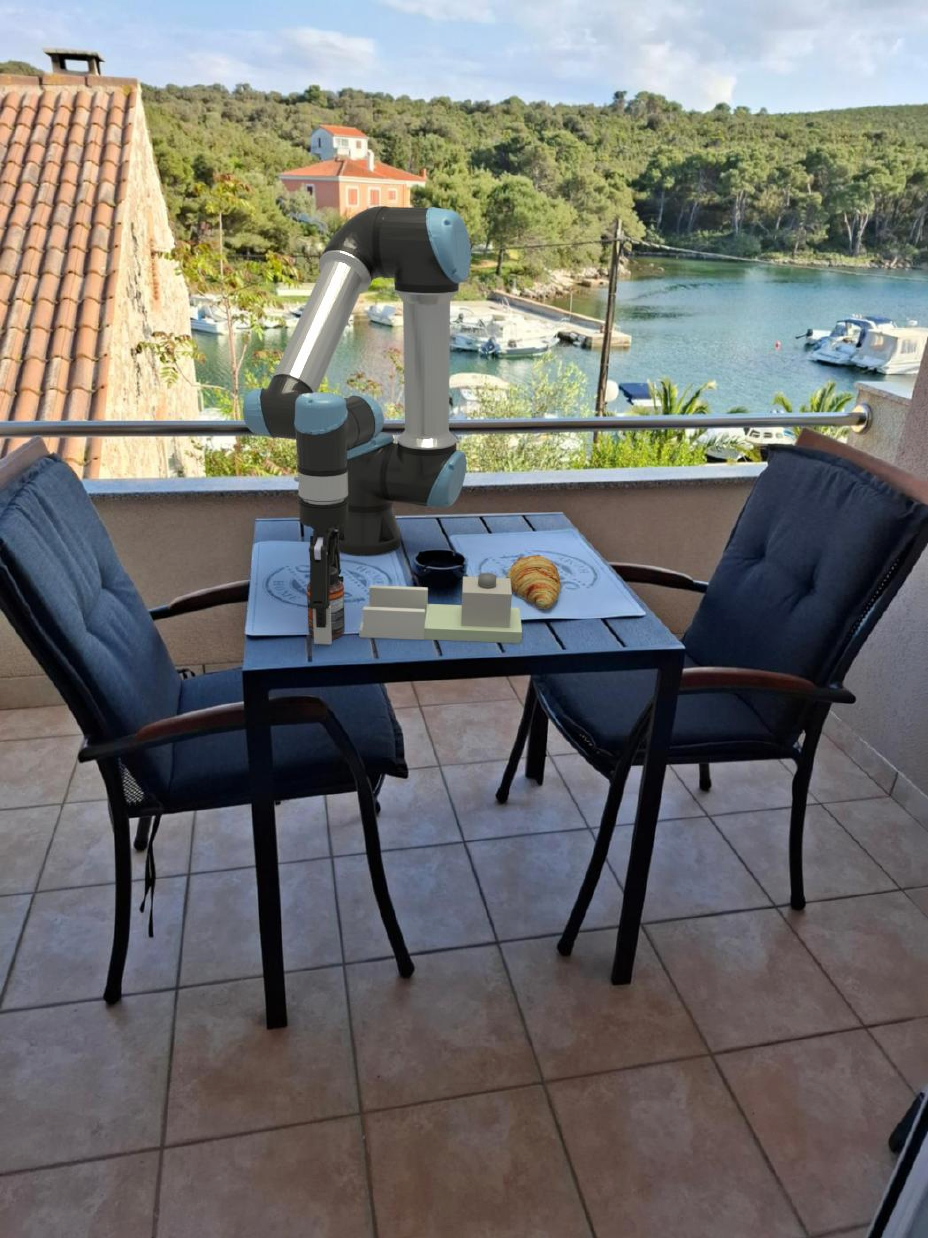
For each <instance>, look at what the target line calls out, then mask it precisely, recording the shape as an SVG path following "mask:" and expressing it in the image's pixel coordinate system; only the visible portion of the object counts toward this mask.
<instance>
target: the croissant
mask: <svg viewBox="0 0 928 1238" xmlns="http://www.w3.org/2000/svg"><path fill="white" fill-rule="evenodd" d="M505 578H510V581H511V591H512V592H513V593H515V594H516V595H517V596H519V597H520V598H522V599H524V600H525V601H526V602H528V603H532V605H535V607H537V608H539V609H541V610H547V609H549V608H551V607H552V606H553V605H555V604H556V602H557V600H558V599H559V597H560V592H561V588H562V585H561V584H562V583H561V577H560V573H559V571H558V568H557V566H556V565H555V564H554V563H553V562H552V561H551V560H550V559H548V558H546V557H545V556H541V554H536V555H529V556H526V557H524V556H523V557H522V556H520V557H518V558H517V560H516V561H515V562H514V563H513V564H512V566H511V567H510V568H509V570H508V572H507V573H506V577H505Z"/></svg>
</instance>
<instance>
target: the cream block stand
mask: <svg viewBox="0 0 928 1238" xmlns="http://www.w3.org/2000/svg"><path fill="white" fill-rule="evenodd" d="M368 591H369V592H368V593H369V594H368V595H369V598H368V599H369V604H367V605H366V606H363V607H362V620H361V623H360V626H359V627H360V628H359V629H358V631H359V632H358V633H359V638H368V639H371V638H373V639H395V640H416V641H418V640H420V641H421V640H422V641H424V640H430V641H454V642H455V641H457V642H477V643H478V642H479V643H481V642H482V643H501V644H502V643H503V644H505V643H506V644H508V643H509V644H522V638H523V631H522V630H523V628H522V620H521V612H520V607H515V606H512V599H513V593H512V592H513V590H512V589H511V581H510V578H506V577H497V575H496V574H495V573H491V572H481V573H479V574H478V576H462V593H461V595H462V597H461V598H462V599H461V605H460V604H438V603H436V604H435V603H428V600H429V599H428V595H429V594H428V593H429V592H428V591H429V588H428V587H423V586H401V585H396V586H395V585H375V584H370V585H369V588H368Z"/></svg>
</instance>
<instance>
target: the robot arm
mask: <svg viewBox="0 0 928 1238" xmlns="http://www.w3.org/2000/svg"><path fill="white" fill-rule="evenodd" d="M471 254H472V252H471V242H470V235H469V232H468V228H467V226H466V224H465V221H464V219H463V218H462V216H461V215H460V214H459V213H458V212H456V211H455V210H453V209H449V208H448V209H446V208H439V207H434V206H432V207H407V206H406V207H405V206H403V207H402V206H386V205H384V206H383V205H378V206H372V207H369V208H366V209H364V210H363V211H359V212H358V213H357V214H355V215H354V216H353V217H351V218H350V219H348V220H347V221H346V222H345V223H344V224H343V225H342V226H340V228H338V230H337V231H336V232H335V233H334V235H333V236H332V237H331V238H330V240H329V241H328V243H327V245H326V246H325V248H324V250H323V252H322V255H321V256H320V259H319V260H318V261H319V262H318V268H319V271H320V273H319V275H318V277H317V280H316V282H315V284H314V286H313V289H312V290H311V293H310V295H309V298H308V299H307V302H306V303H305V306H304V308H303V310H302V313H301V315H300V317H299V319H298V320H297V321H298V322H297V323H296V326H295V328H294V330H293V331H292V334H291V337H290V339H289V341H288V343H287V345H286V348H285V350H284V351H283V353H282V357H281V358H280V360H279V363H278V364H277V367H276V369H275V372H274V374H273V375H272V378H271V380H270V382H269V384H268V386H267V388H265V387H261V388H257V387H256V388H253V389H252V390H250V391H249V392H247V393H246V396H245V397H244V401H243V406H242V415H243V416H242V417H243V421H244V424H245V425H246V427H247V429H249V431H251V433H253V434H255V435H260V436H264V437H268V438H272V439H277V438H278V439H279V438H280V439H285V440H287V439H288V440H295V442H296V443H295V446H296V458H297V461H296V462H297V466H296V467H297V475H294V478H293V480H294V481H295V482H298V496H299V497H300V499H299V500H298V515H299V519H298V520H299V522H300V524H302V525H303V526H305V527H309V528H311V529H312V530H313V531H312V535H310V537H309V547H308V553H309V555H308V556H309V582H310V604H307V603H306V604H307V605H306V606H307V607H308V608H310V609H313V627H314V637H313V643H314V645H332V642H333V641H332V640H333V639H332V633H331V605H330V603H329V591H330V567H331V566H332V567H335V568H336V569H337V571H338V578H337V579H339V580H340V581H341V582H342V583H343V584H344V581H345V579H344V576H343V575H341V573H342V569H341V568H342V567H341V556H340V555H341V554H340V553H342V552H343V553H342V554H345V553H346V554H345V555H352V556H364V557H365V556H367V557H368V556H377V555H378V556H379V555H385V554H388V553H391V552H395V551H397V550H398V549H399V548H400V547H401V545H402V539H401V538H402V534H401V530H400V526H399V524H398V521H397V518H396V515H395V512H394V505H393V504H394V502H395V503H401V504H403V503H404V504H408V505H415V506H421V507H427V508H429V509H430V508H440V509H446V508H450V507H451V506H452V505H454V503H455V502H456V501H457V499H458V497H459V496H460V493H461V492H462V491H461V490H462V488H463V487H464V482H465V477H466V473H467V464H468V463H467V462H468V461H467V455H466V452H464V451H462V450H460V449H457V438H456V436H454V435H453V434H452V433H451V432H450V364H451V363H450V362H451V361H450V355H451V354H450V353H451V352H450V351H451V350H450V349H451V348H450V346H451V345H450V344H451V341H450V340H451V339H450V338H451V337H450V335H451V332H450V331H451V302H452V299H454V298H455V297H456V295H457V294H459V292H460V290H459V288H460V287H459V286H460V283H463V282H465V281H466V280H467V279H468V277H469V274H470V266H471V262H472V261H471V260H472V255H471ZM380 278H385V279H387V278H388V279H393V282H394V283H393V285H394V287H393V288H394V290H393V291H394V292H395V293H396V294H397V296H398V297H399V298H400V299H401V301H402V317H403V318H402V321H403V322H402V324H403V327H402V328H403V378H404V381H403V383H404V385H403V387H404V389H403V390H404V393H403V394H404V398H403V399H404V430H403V432H402V433H401V434H400V435H398V437H397V442H396V443H395V438H394V435H393V434H392V433H389V432H382V431H383V427H384V423H385V418H384V417H385V416H384V411H383V409H382V407H381V405H380V404H379V403H378V401H376V400H375V399H374V398H372V397H371V396H368V395H365V394H359V395H356V394H355V395H354V394H352V395H350V396H348V397H343V396H342V395H341V394H339V393H333V392H320V391H319V389H320V386H321V384H322V382H323V380H324V377H325V375H326V373H327V371H328V368H329V366H330V364H331V361H332V358H333V356H334V354H335V352H336V350H337V347H338V345H339V343H340V340H341V338H342V336H343V334H344V331H345V329H346V327H347V325H348V322H349V320H350V317H351V316H352V313H353V311H354V308H355V306H356V304H357V302H358V299H359V296H360V295H361V294H363V293H365V292H367V291H368V290H369V289H370V286H371V284H372V281H374V280H376V279H380ZM318 391H319V392H318ZM308 608H307V609H308Z"/></svg>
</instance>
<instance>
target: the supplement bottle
mask: <svg viewBox="0 0 928 1238" xmlns="http://www.w3.org/2000/svg"><path fill="white" fill-rule="evenodd" d="M337 578H338V571H337V569H336V568H335V567H332V566H331V567H330V591H329V603H330V605H331V633H332V640H336V639H338V638H340V637H342V636H343V635H344V633H345V628H346V627H345V619H346V618H345V586H344V582H343V583H342V582H341V581H340V580H339V579H337ZM306 601H307V602H306V604H310V581H309V582H308V583H307V585H306ZM307 621H308V622H307V628H308V634H309V635H310V637H312V638H314V627H313V609H310V608H308V607H307Z"/></svg>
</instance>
